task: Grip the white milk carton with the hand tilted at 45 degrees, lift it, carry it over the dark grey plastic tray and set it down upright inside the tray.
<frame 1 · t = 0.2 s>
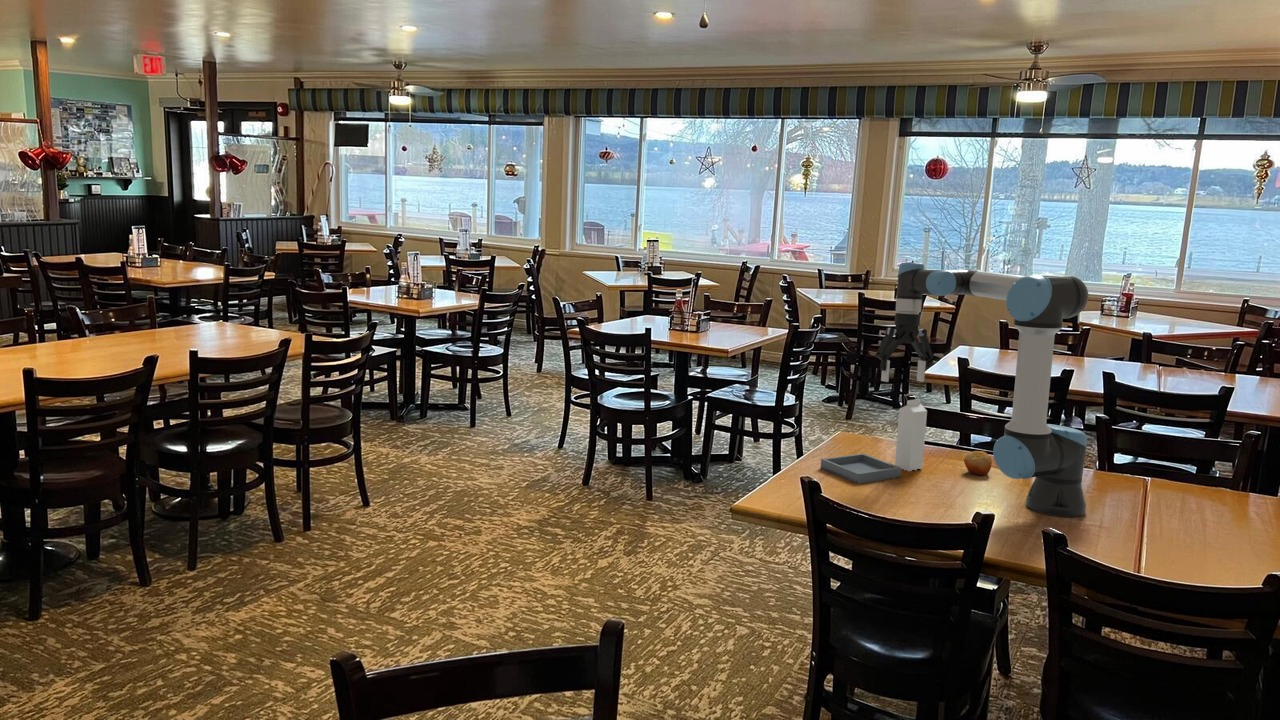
hand: (902, 381, 290), 27 cm above the table, tool pointing down, fingers open, 13 cm apart
tray: (860, 472, 287), on the table
fruit: (976, 474, 290), on the table
milk: (908, 468, 294), on the table
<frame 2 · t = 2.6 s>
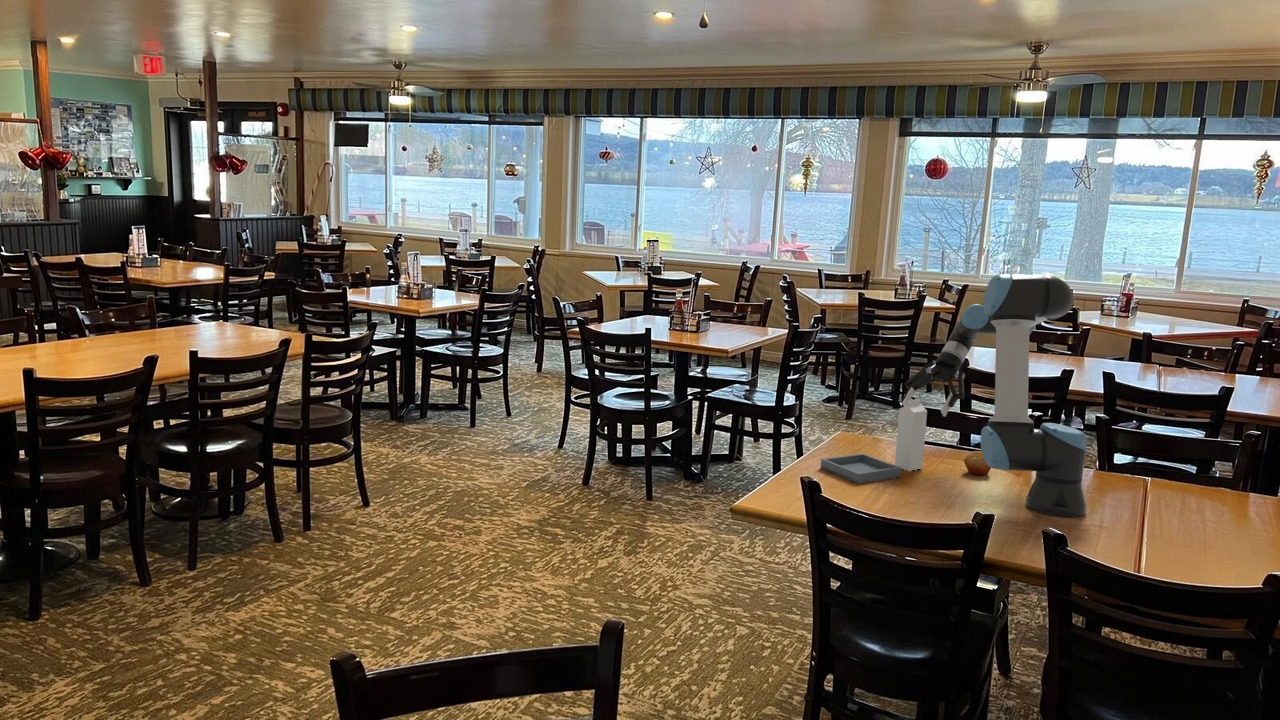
hand: (923, 409, 297), 18 cm above the table, tool tilted 45°, fingers open, 13 cm apart
nothing on the table moved.
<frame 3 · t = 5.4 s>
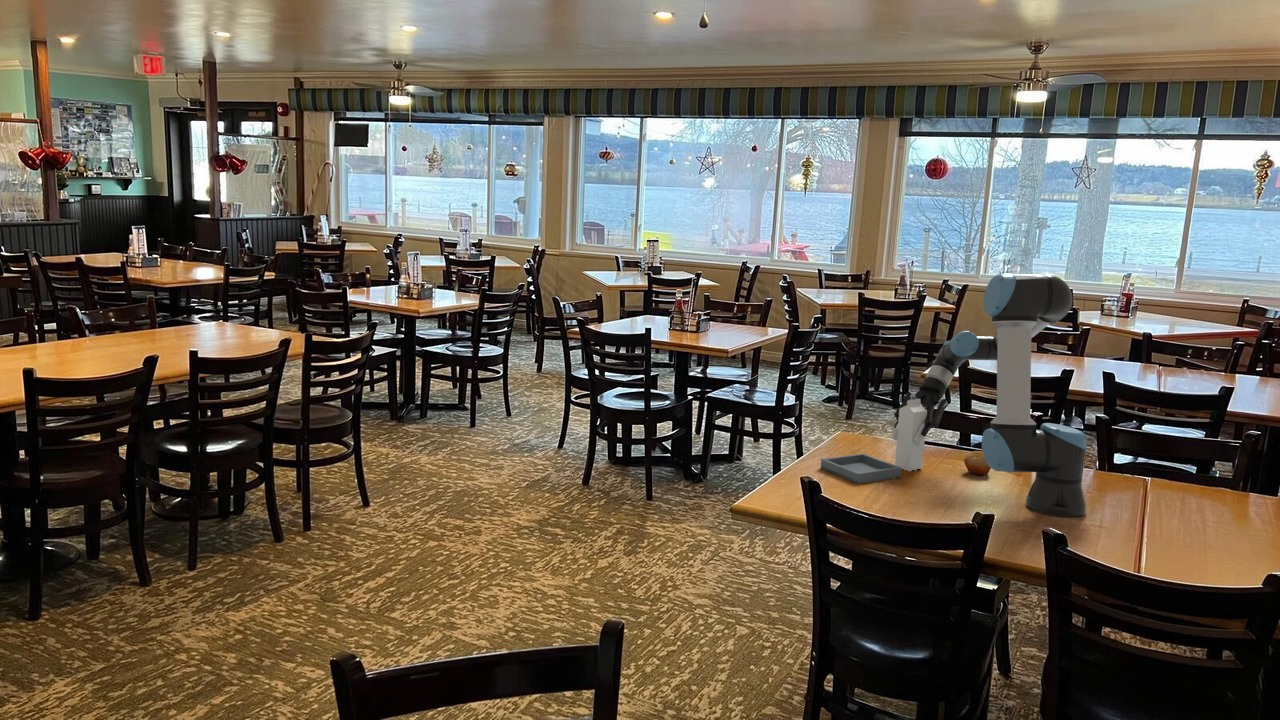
hand: (904, 440, 290), 10 cm above the table, tool tilted 45°, fingers closed on milk, 7 cm apart
milk: (908, 468, 294), on the table, touching gripper
everything else where it was.
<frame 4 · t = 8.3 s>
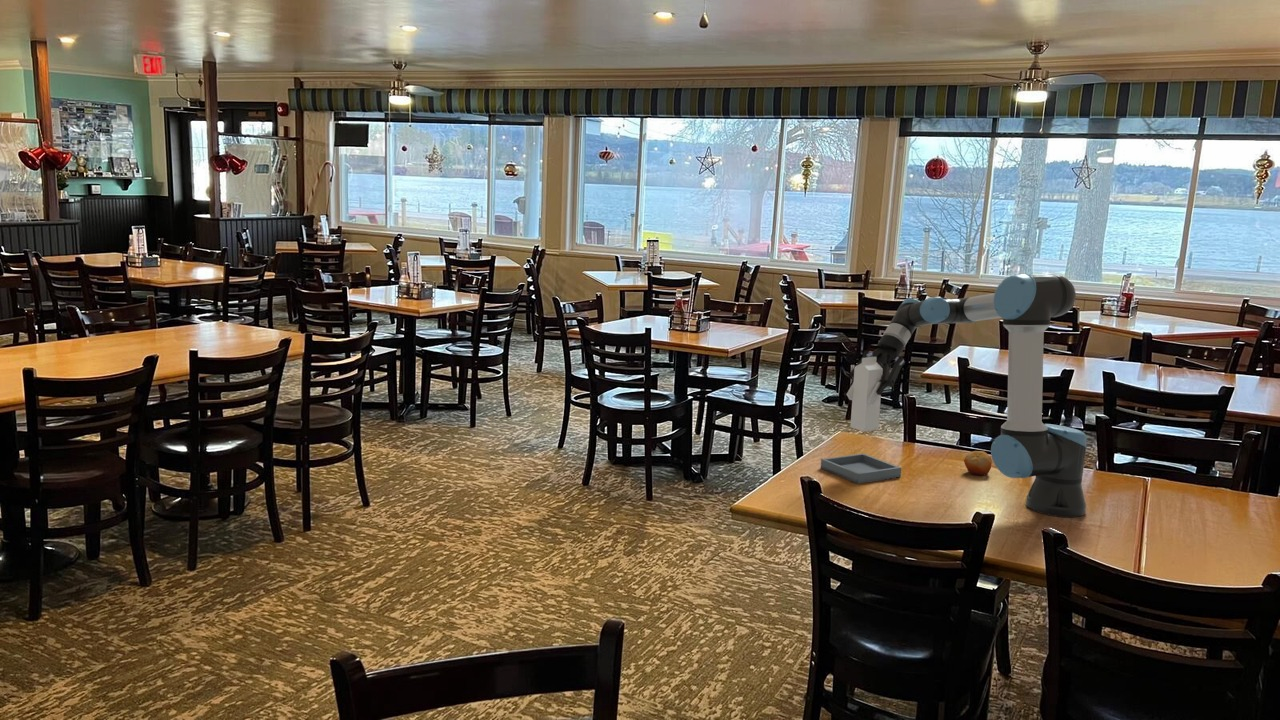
hand: (859, 399, 281), 23 cm above the table, tool tilted 45°, fingers closed on milk, 7 cm apart
milk: (864, 429, 285), point 14 cm above the table, touching gripper
everything else where it was.
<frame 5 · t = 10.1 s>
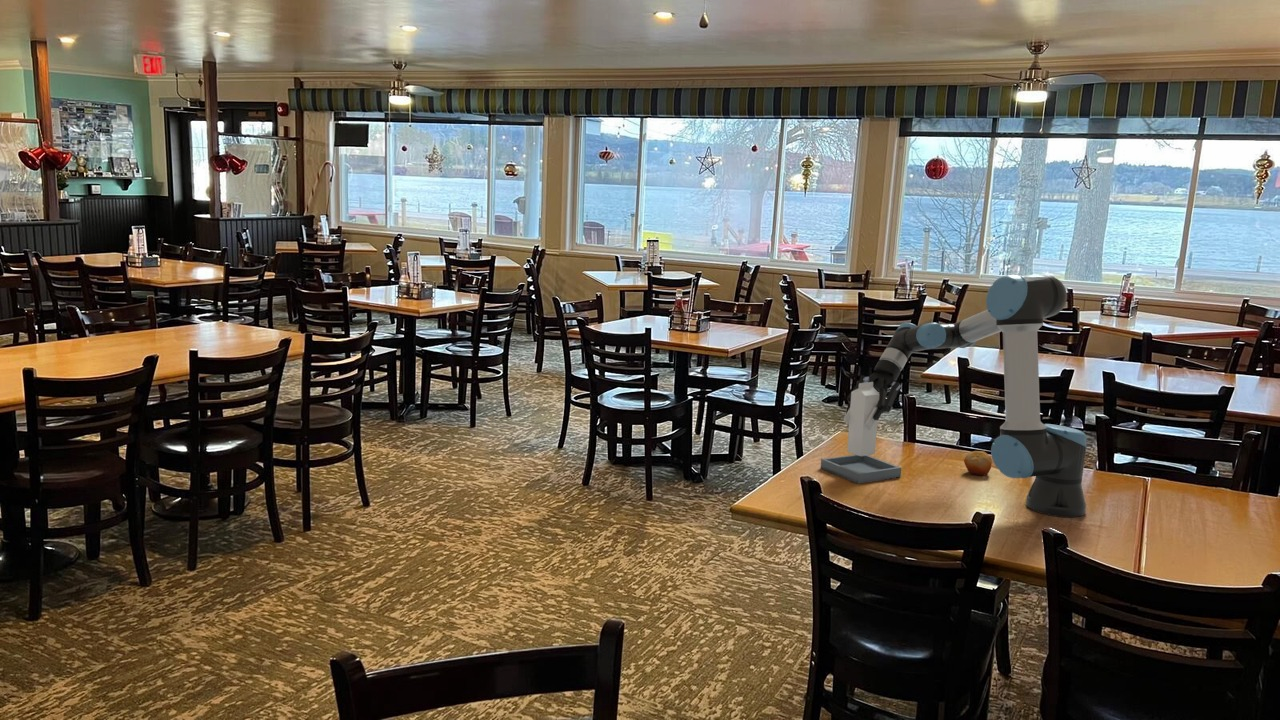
hand: (856, 424, 283), 16 cm above the table, tool tilted 45°, fingers closed on milk, 7 cm apart
milk: (860, 453, 287), point 6 cm above the table, touching gripper
everything else where it was.
when the fingers open (12 cm above the table, at t = 11.4 s): milk drops 2 cm, resting on tray.
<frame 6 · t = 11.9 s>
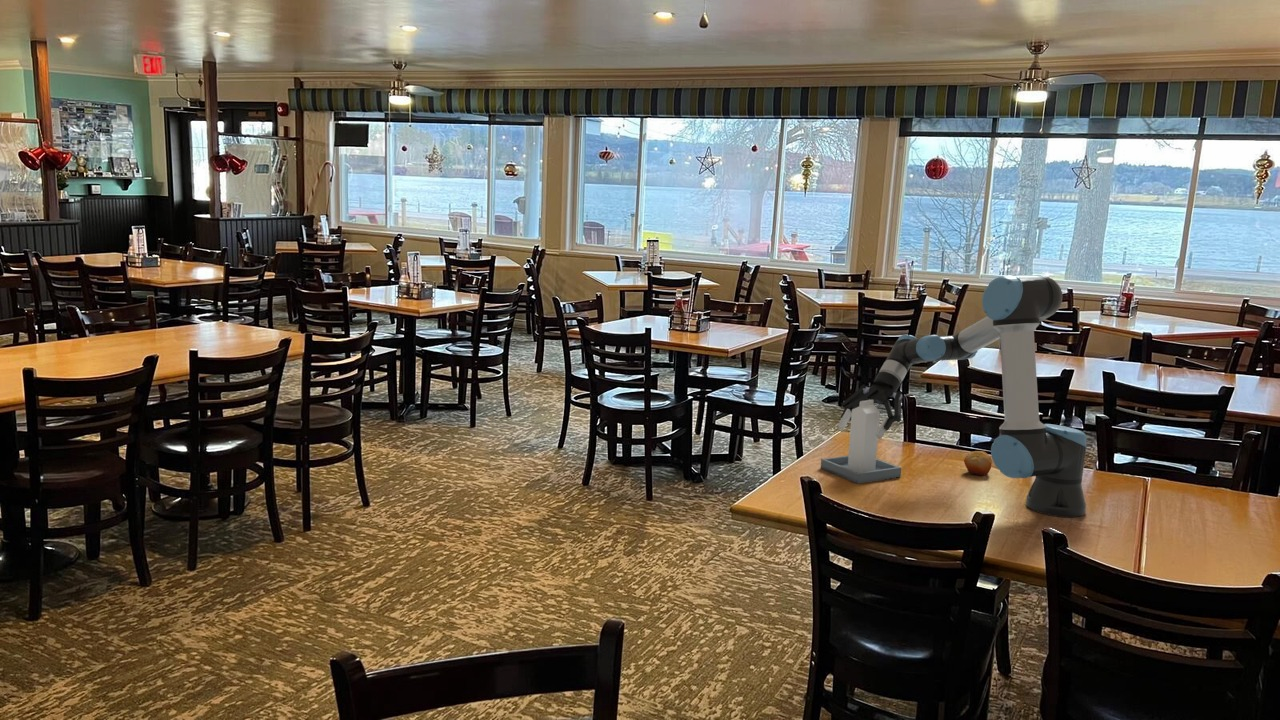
hand: (858, 432, 283), 13 cm above the table, tool tilted 45°, fingers open, 13 cm apart
milk: (861, 470, 287), point 1 cm above the table, touching tray
everything else where it was.
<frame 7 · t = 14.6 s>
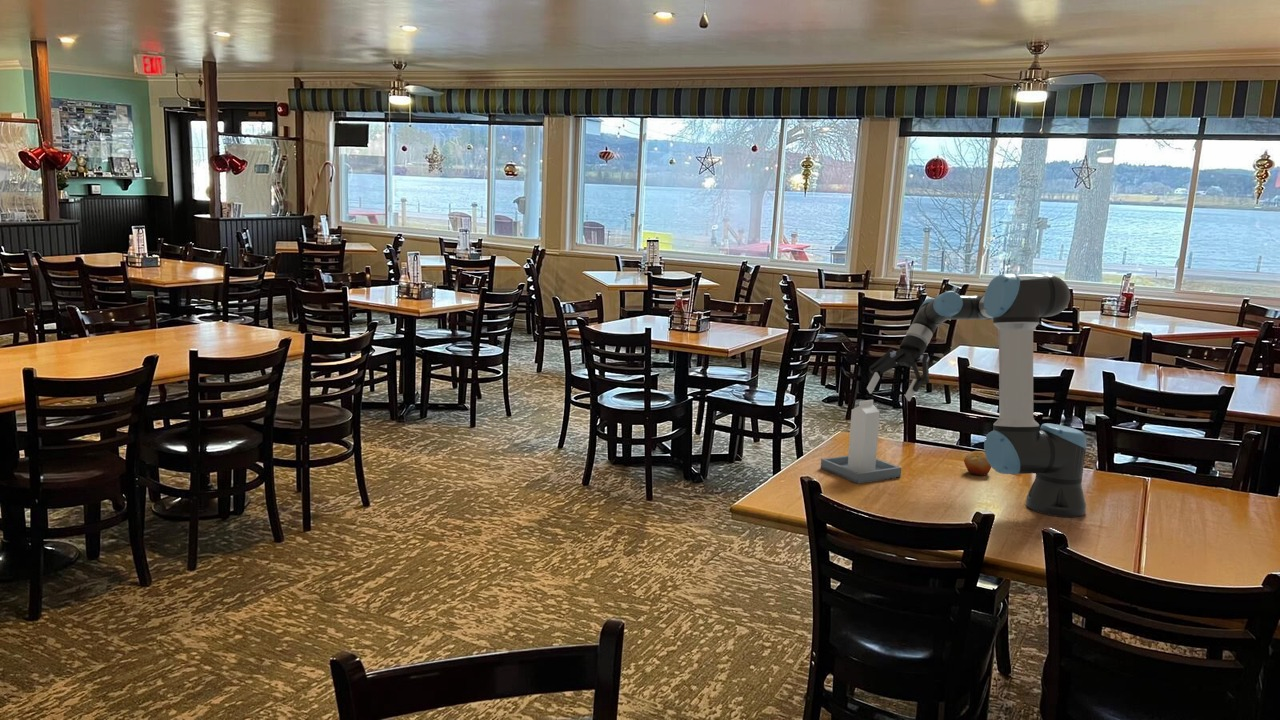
hand: (887, 394, 291), 23 cm above the table, tool tilted 45°, fingers open, 13 cm apart
nothing on the table moved.
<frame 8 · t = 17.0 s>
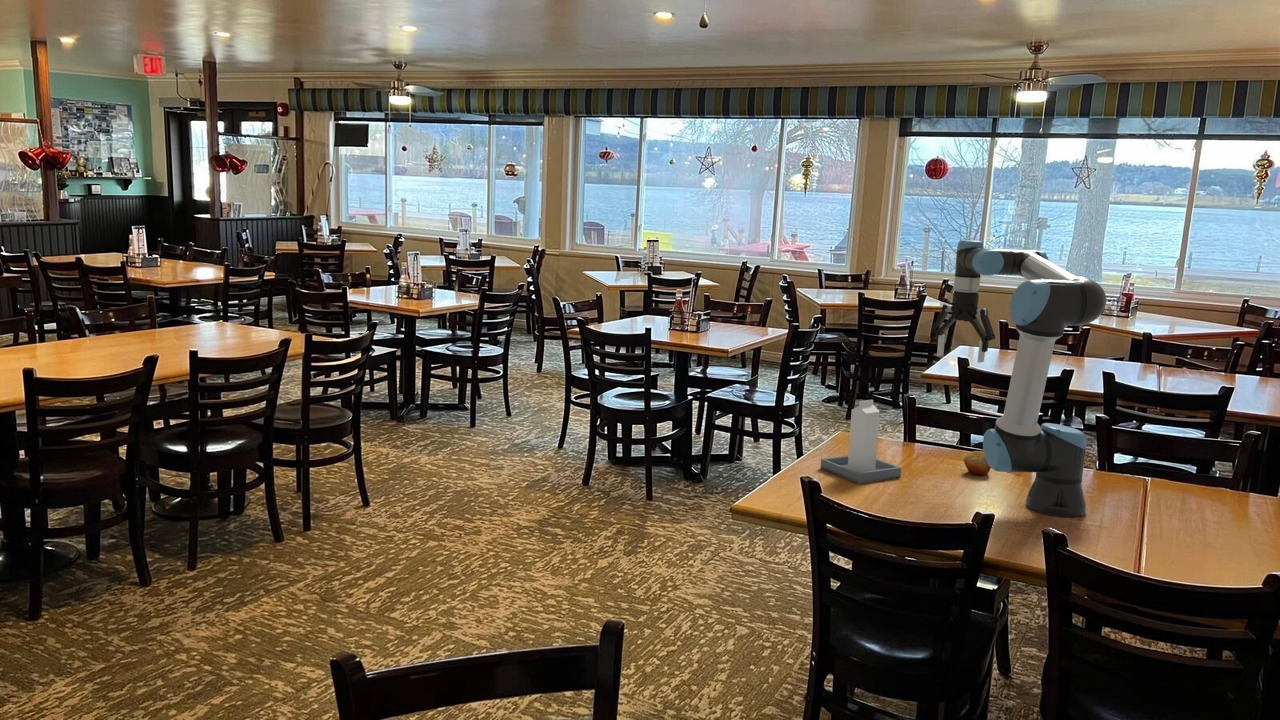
hand: (960, 358, 291), 35 cm above the table, tool pointing down, fingers open, 13 cm apart
nothing on the table moved.
at the end: milk inside the target area on the tray (0.3 cm from its centre), point 0.6 cm above the tray's base; milk tilted 0°; the gripper is holding nothing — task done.
